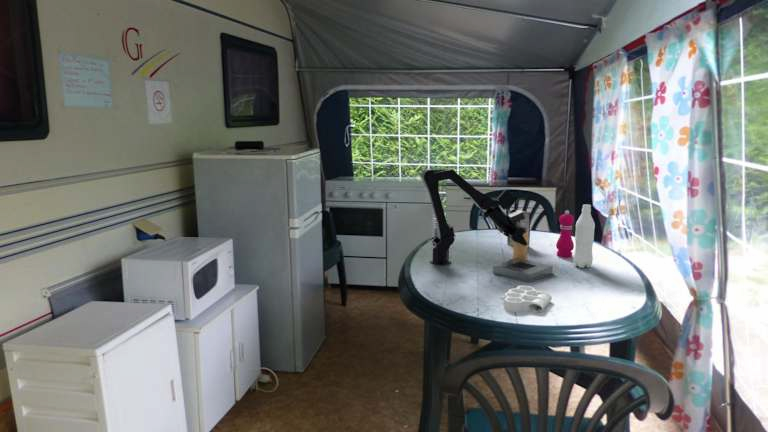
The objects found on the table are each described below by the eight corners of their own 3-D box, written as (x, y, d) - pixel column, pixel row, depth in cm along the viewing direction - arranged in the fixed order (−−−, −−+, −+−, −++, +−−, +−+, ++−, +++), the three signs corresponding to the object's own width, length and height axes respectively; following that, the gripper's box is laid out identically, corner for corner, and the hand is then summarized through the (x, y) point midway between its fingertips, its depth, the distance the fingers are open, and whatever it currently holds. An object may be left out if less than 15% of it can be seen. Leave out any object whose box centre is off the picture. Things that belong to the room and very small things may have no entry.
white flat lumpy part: (539, 317, 160) (493, 308, 168) (553, 299, 175) (510, 292, 183) (540, 307, 160) (493, 298, 167) (554, 290, 175) (511, 283, 182)
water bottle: (593, 269, 208) (598, 206, 203) (574, 268, 209) (578, 206, 204) (590, 264, 215) (594, 203, 210) (571, 263, 216) (575, 203, 211)
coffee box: (530, 247, 243) (531, 212, 240) (519, 248, 240) (520, 213, 237) (517, 242, 251) (518, 209, 248) (506, 244, 248) (507, 210, 245)
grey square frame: (528, 282, 192) (529, 274, 192) (492, 272, 204) (493, 265, 203) (552, 273, 203) (552, 265, 202) (516, 264, 214) (517, 257, 214)
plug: (521, 262, 218) (523, 225, 215) (510, 259, 222) (511, 223, 219) (529, 259, 221) (531, 223, 218) (518, 257, 226) (519, 221, 223)
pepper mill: (570, 254, 230) (573, 208, 227) (575, 258, 223) (578, 212, 220) (553, 253, 231) (556, 208, 227) (557, 258, 224) (560, 211, 220)
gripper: (521, 208, 208) (547, 234, 211) (505, 200, 226) (528, 224, 229) (501, 228, 208) (527, 254, 212) (486, 218, 226) (510, 243, 230)
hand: (523, 243), depth 220 cm, fingers closed on plug, 6 cm apart
